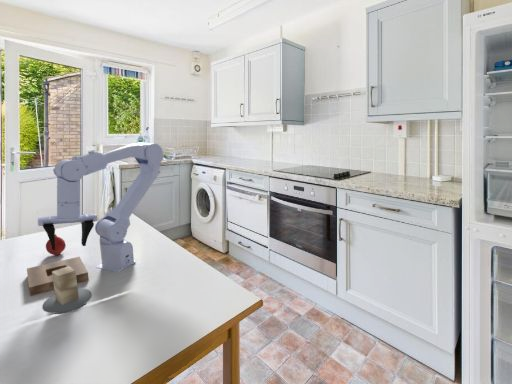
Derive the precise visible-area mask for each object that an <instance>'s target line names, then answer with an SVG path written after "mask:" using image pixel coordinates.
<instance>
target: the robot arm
mask: <svg viewBox="0 0 512 384" xmlns="http://www.w3.org/2000/svg"><path fill="white" fill-rule="evenodd" d="M129 158H134V159H135V161H136V163H137V165H138V166H139V169H140V171H139V173H138V175H137V176H136V178H135V179H134V180H133V182H132V183H131V184H130V186H129V187H128V189H127V190H126V191H125V193H124V195H123V196H122V198H121V199H120V201H118V203H117V205H116V206H115V207H114V209H112V210H110V211H108V212H106V214H105V215H104V216H103V217H102V218H101V219H99V220H98V215H97V214H96V213H89V214H87V213H85V214H84V213H83V214H82V213H81V180H82V179H83V177H85V176H88V175H90V174H93V173H97V172H99V171H102V170H106V168H107V166H108V164H111V163H113V162H117V161H118V162H119V161H120V160H125V159H129ZM164 158H165V157H164V151H163V149H162V147H161V145H159V144H158V143H155V142H151V143H148V142H140V141H139V142H136V143H131V144H127V145H124V146H121V147H118V148H116V149H112V150H110V151H107V152H104V153H103V152H101V151H98V150H97V151H95V150H88V152H87V154H83V155H79V156H76V155H74V156H71V159H61V160H59V161H57V163H55V165H54V167H53V169H52V170H53V174H54V175H55V176H56V215H51V216H45V217H43V216H42V217H37V226H38V227H42V228H43V229H44V231H45V233H46V234H47V237H48V240H50V243H51V249H52V250H55V234H56V233H55V232H56V228H55V225H58V224H59V225H61V224H73V223H74V224H75V223H81V246H82V247H85V246H87V241H88V237H89V235H90V233H91V231H92V229H95V233H96V234H97V235H98V236H99V248H100V256H101V257H100V260H101V263H100V264H98V265H97V266H96V267H95V268H97V269H102V270H107V271H112V272H122V271H123V270H125V269H126V268H128V267H129V266H133V264H135V263H136V262H137V261H136V260H135V257H134V248H133V244H132V243H131V242H130V241H127V240H126V239H125V237H126V236H127V234H128V230H129V227H130V225H131V220H130V218H131V216H132V214H133V213H134V211H135V210H136V208H137V207H138V205H139V204H140V202H141V201H142V199H143V198H144V197H145V195H146V193H147V192H148V191H149V189H150V187H151V186H152V185H153V183H154V182H155V180H156V179H157V177H158V175H159V172H160V166H161V163H162V162H163V159H164ZM94 222H96V224H95V223H94ZM94 224H95V226H94Z"/></svg>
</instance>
